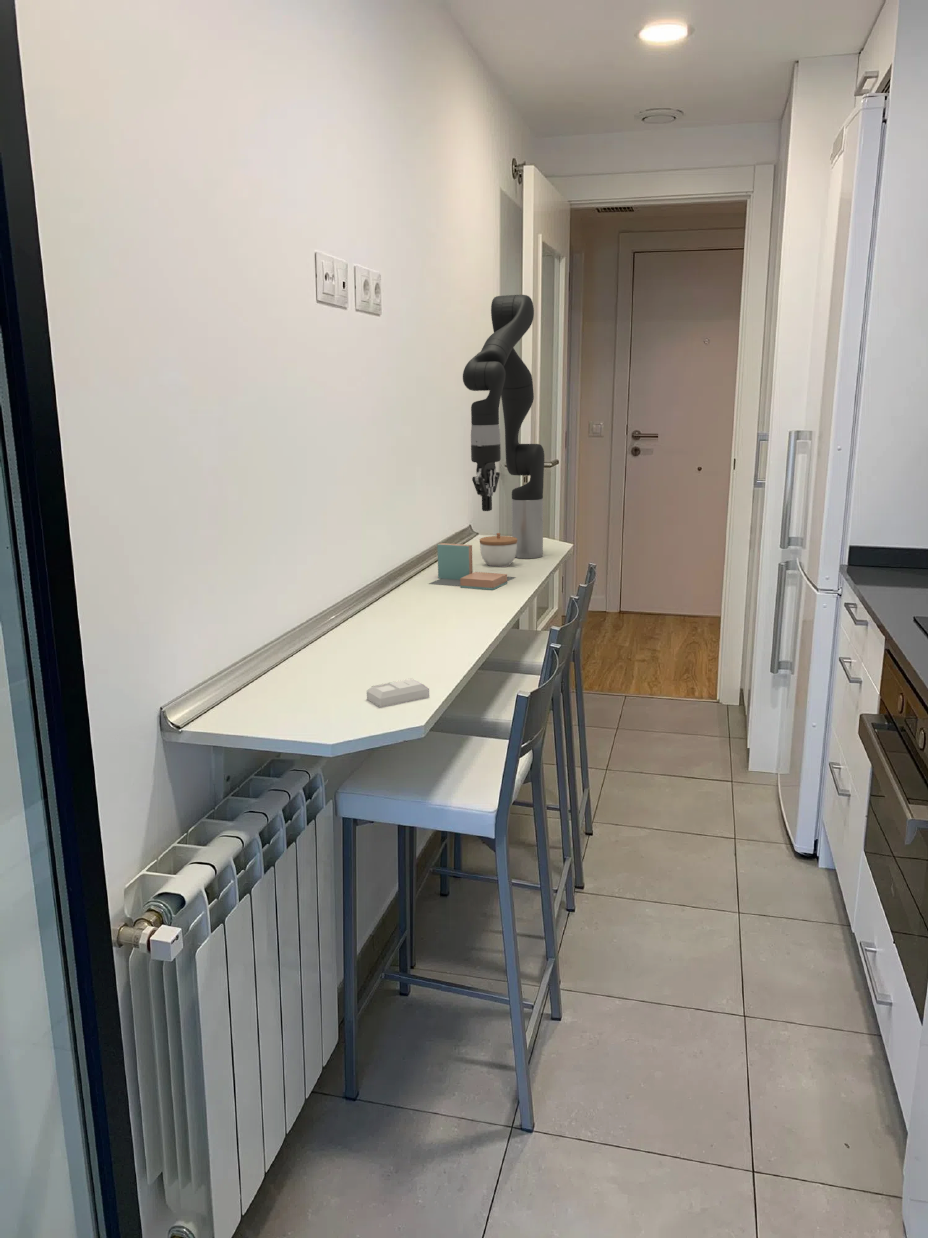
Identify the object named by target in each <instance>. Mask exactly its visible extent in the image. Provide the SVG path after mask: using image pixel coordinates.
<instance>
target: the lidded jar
mask: <svg viewBox="0 0 928 1238" xmlns="http://www.w3.org/2000/svg"><path fill="white" fill-rule="evenodd" d="M479 547H480V548H479V550H480V555H481V558H482V560H483V562H485V564H486V565H488V566H489V567H490V566H491V567H503V568H507V567H510V565H511V564H512V563H513V561H514V560H515V558H516V557H515V556H516V552H517V538H515V537H512V536H508V535H506V536H505V535H501V533H500V532H497V533H496V535H492V536H485V537H481V538H479Z"/></svg>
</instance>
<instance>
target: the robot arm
mask: <svg viewBox="0 0 928 1238" xmlns="http://www.w3.org/2000/svg"><path fill="white" fill-rule="evenodd" d="M534 308H535V307H534V303H533V299H532V298H531V297H530V296H529V295H527V294H510V295H509V294H507V295H498V296H497V295H496V296H494V297H493V299H492V300H491V306H490V314H491V315H490V316H491V324H492V329H493V333H491V335H490V336H489V337H487V339H486V341H485V342H484V345H483V346H482V348H481V350H480V352H478V353H476V354H475V356H473V357H472V358H470V360H469V361H468V362H467V363H466V364H465V366H464V368H463V372H462V382H463V385H464V386H465V388H467V389H468V390H469V391H474V392H476V391H477V392H481V391H482V392H485V391H487V392H488V395H487V396H486V397H485V398H483V399H480V400H476V401H474V402H472V404H471V407H470V412H471V413H470V415H471V421H470V422H471V423H470V424H471V429H470V457H471V459H470V460H471V462H472V463H476V469H475V470H476V471H475V472H476V473H475V474H476V475H475V476H472V477H471V479H472V480H471V481H472V483H473V485H474V489H475V491H476V493H477V495H478V496H480V497H481V510H482V511H483V512H490V511H492V509H493V498H492V497H493V495H494V493H496V491H497V488H498V483H499V479H500V475H501V473H500V472H499V471H497V470H496V469H497V466H496V463H499V462H501V458H502V457H501V451H502V450H501V432H500V431H501V429H500V403H501V405H502V413H503V423H504V424H503V425H504V440H505V442H504V445H505V447H504V448H505V451H504V452H505V464H506V470H507V471H508V474H509V475H511V476H519V477H521V476H529V481H528V482H526V483H525V484H523V485H521V486H518V487H515V488H513V489H512V491H511V537H515V538H517V552H516V556H515V558H518V559H537V558H541V557H543V556H544V520H543V519H544V474H545V473H544V472H545V450H544V448H543V446H542V444H540V443H519V433H520V429H521V427H522V425H523V422H524V420H525V418H526V417H527V415H528V414H529V411H530V409H531V408H532V406H533V402H534V398H535V396H534V395H535V394H534V383H533V375H532V374H531V371H530V370H529V368H528V367H527V365H526V364H525V362H524V361H523V359H522V358H521V357H520V356H519V354H518V353H517V352H516V350H515V346H516V345H517V343H518V342H520V340H522V338H523V337H524V335H525V334H526V333H527V332H528V330H529V329H530V328H531V326H532V325H533V321H534V316H535V309H534Z"/></svg>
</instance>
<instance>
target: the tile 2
mask: <svg viewBox="0 0 928 1238" xmlns="http://www.w3.org/2000/svg"><path fill="white" fill-rule="evenodd" d="M507 577H508V574H507V573H498V572H497V573H494V572H482V571H481V572H480V571H474V572H473V573H472V574H469V575H467V576H464V577H462V578H460V586H459V587H460V588H461V589H472V590H473V589H475V590H487V591H494V590H496V589H498V588H500V587H502V586H504V585H506V584H508V581H507Z"/></svg>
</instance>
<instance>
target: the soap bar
mask: <svg viewBox="0 0 928 1238" xmlns="http://www.w3.org/2000/svg"><path fill="white" fill-rule="evenodd" d="M426 698H430V687H428V686H426V685H425V684H424V683H422V682H420V681H419V680H416V679H415V678H413V677H412V678H406V679H400V680H396V681H392V682H386V683H381V684H375V685H372V686H371V687H369V688H368V689H367V690H366V700H367V701H369V702H371V703H373V704H374V705H376V706H377V707H379V708H383V707H384V708H385V707H388V706H392V705H398V704H403V703H406V702H407V703H408V702H411V701H412V702H413V701H418V700H421V699H422V700H423V699H426Z"/></svg>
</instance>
